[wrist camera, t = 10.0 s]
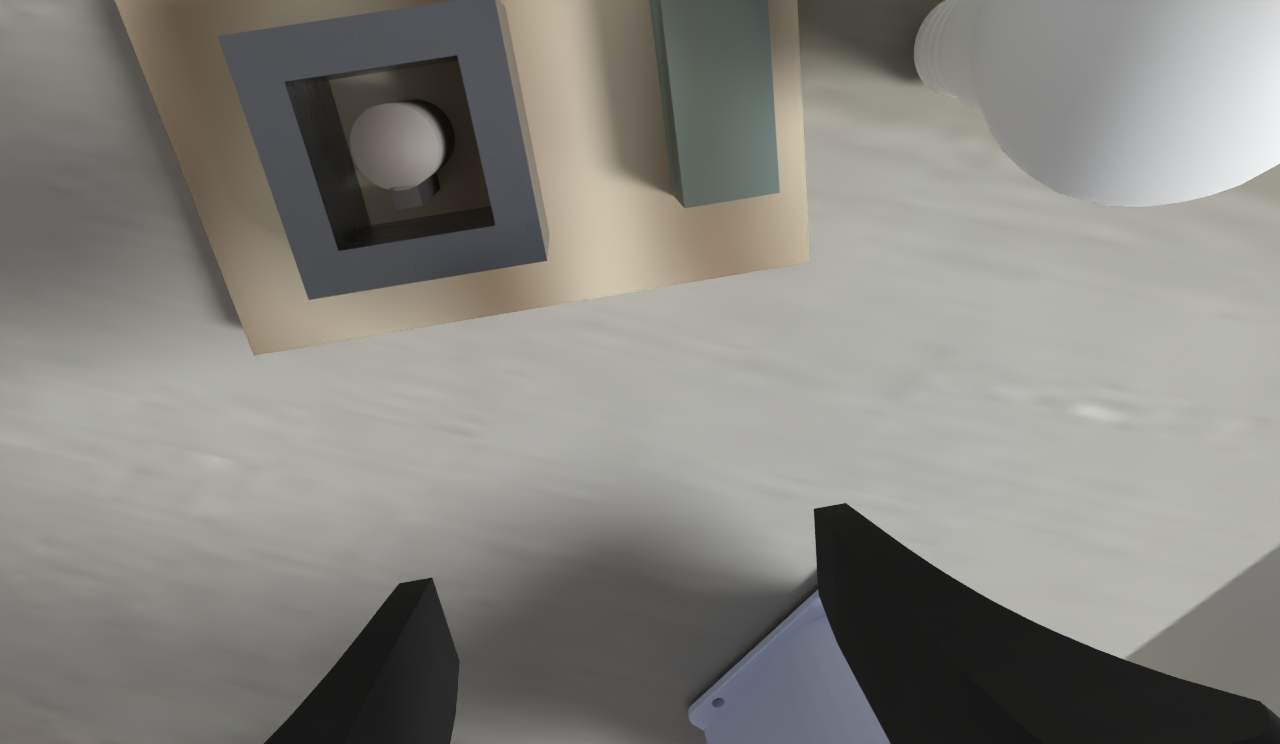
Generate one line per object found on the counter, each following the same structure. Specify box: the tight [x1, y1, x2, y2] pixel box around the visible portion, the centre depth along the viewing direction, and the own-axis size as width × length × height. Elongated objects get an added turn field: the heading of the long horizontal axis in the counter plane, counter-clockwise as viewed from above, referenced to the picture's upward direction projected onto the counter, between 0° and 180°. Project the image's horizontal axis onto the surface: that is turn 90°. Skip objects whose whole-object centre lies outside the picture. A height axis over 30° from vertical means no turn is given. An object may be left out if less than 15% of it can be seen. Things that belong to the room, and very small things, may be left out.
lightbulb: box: [914, 0, 1280, 207], centre depth 15 cm, size 6×6×11 cm
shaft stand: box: [115, 0, 810, 355], centre depth 17 cm, size 16×10×4 cm, turn 98°
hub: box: [218, 0, 550, 300], centre depth 17 cm, size 6×6×3 cm
